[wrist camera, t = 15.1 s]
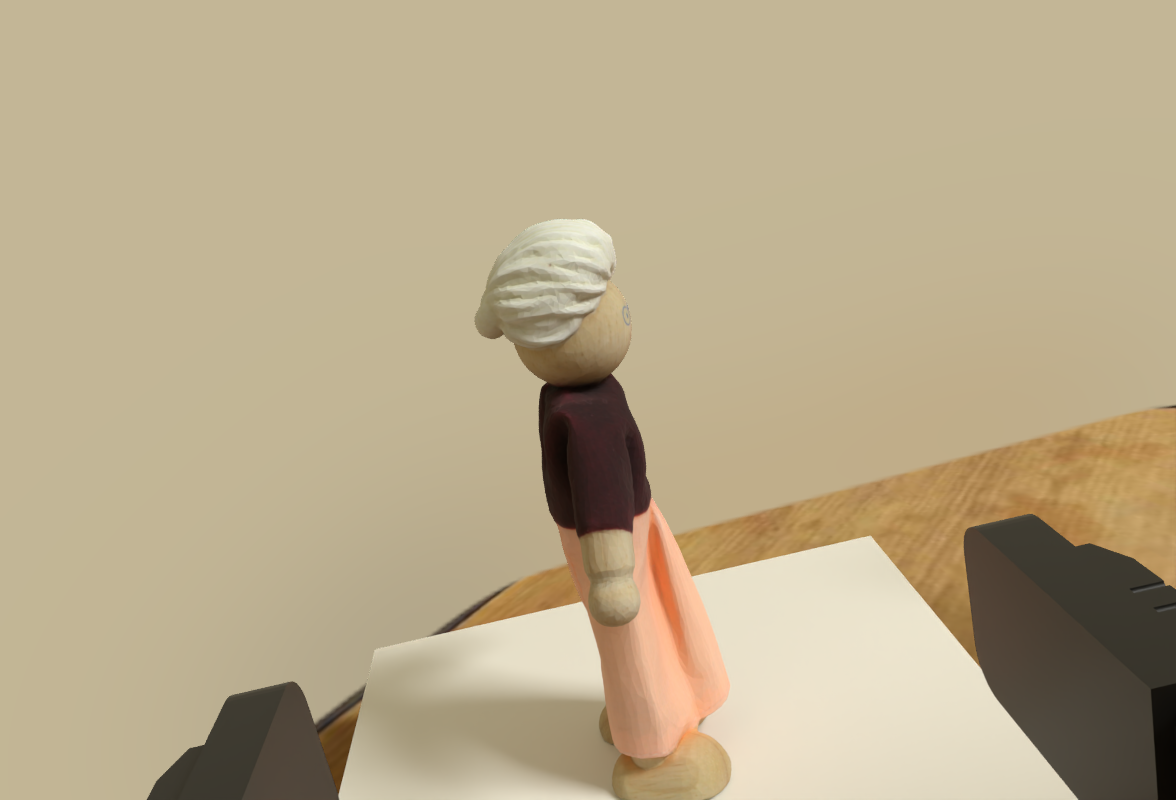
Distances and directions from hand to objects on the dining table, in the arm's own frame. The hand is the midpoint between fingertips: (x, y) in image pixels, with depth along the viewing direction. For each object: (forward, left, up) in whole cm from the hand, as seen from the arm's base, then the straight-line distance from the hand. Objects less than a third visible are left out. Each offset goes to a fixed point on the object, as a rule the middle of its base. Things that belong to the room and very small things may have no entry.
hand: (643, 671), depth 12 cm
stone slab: (0, -12, -12) cm, 17 cm away
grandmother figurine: (0, -11, -9) cm, 14 cm away
